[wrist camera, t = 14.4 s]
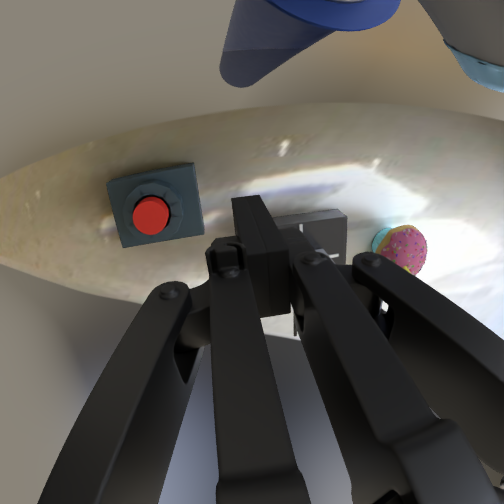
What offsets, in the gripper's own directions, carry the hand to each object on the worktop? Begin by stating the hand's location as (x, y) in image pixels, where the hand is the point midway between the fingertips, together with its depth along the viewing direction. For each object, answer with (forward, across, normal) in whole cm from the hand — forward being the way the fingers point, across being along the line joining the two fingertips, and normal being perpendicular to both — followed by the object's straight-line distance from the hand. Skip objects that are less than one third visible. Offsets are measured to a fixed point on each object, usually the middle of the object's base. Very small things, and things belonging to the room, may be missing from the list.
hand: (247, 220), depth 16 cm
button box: (+18, -9, -3) cm, 21 cm away
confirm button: (+15, -9, -3) cm, 17 cm away
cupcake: (+19, +21, -13) cm, 31 cm away
